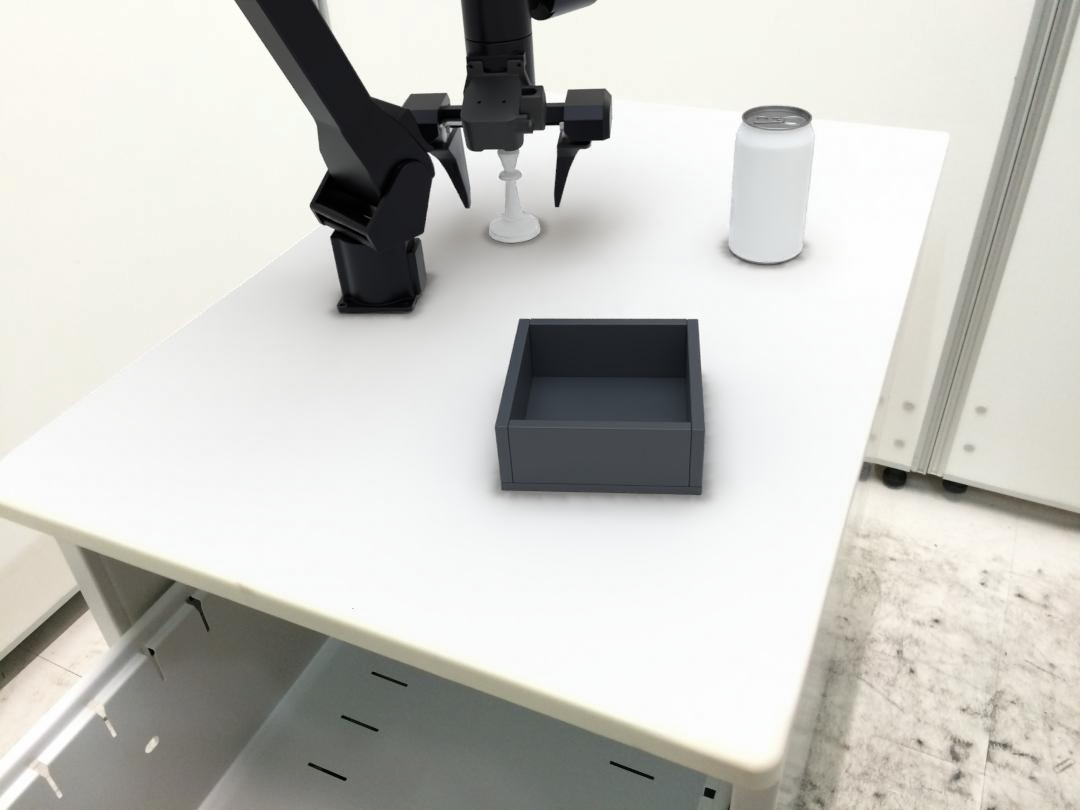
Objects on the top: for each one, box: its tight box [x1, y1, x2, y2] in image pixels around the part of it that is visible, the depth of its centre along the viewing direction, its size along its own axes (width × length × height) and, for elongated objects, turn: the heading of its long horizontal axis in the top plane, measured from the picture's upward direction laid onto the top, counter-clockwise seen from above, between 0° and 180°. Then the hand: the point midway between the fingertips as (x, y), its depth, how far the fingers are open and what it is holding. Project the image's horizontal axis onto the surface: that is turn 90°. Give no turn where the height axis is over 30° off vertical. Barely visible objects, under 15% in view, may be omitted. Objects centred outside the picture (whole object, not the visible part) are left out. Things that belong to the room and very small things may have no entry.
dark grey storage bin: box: [494, 317, 706, 495], centre depth 63 cm, size 13×13×5 cm
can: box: [728, 104, 816, 265], centre depth 80 cm, size 6×6×12 cm
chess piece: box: [488, 148, 542, 244], centre depth 87 cm, size 5×5×10 cm
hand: (512, 206), depth 88 cm, fingers open, 8 cm apart
